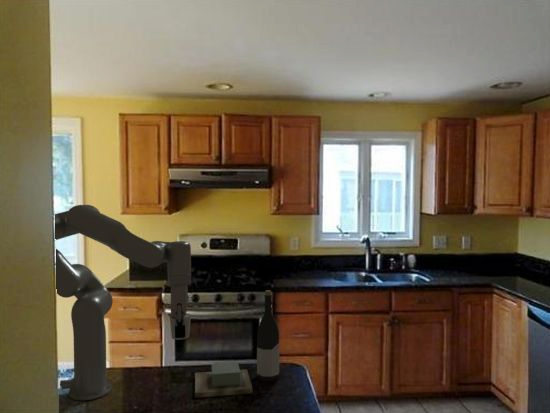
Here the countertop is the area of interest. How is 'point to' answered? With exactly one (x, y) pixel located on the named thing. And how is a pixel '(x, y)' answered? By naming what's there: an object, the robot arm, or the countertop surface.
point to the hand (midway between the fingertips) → (180, 334)
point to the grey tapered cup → (186, 323)
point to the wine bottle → (268, 344)
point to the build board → (207, 390)
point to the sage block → (225, 374)
